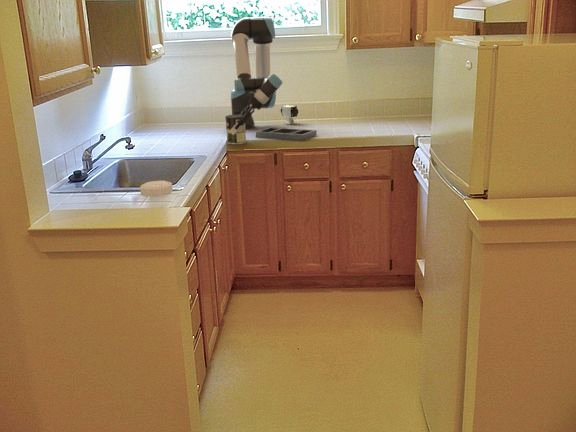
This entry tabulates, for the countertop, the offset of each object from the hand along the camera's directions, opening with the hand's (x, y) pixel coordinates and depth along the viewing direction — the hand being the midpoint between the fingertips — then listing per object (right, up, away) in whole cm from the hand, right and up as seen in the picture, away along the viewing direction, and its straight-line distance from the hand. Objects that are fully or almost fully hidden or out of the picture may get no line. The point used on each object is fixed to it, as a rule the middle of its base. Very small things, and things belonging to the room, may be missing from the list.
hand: (230, 131), depth 321 cm
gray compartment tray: (+29, -1, +14) cm, 32 cm away
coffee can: (+3, -6, +2) cm, 7 cm away
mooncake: (-20, -36, -88) cm, 97 cm away
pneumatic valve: (+32, +12, +54) cm, 64 cm away
